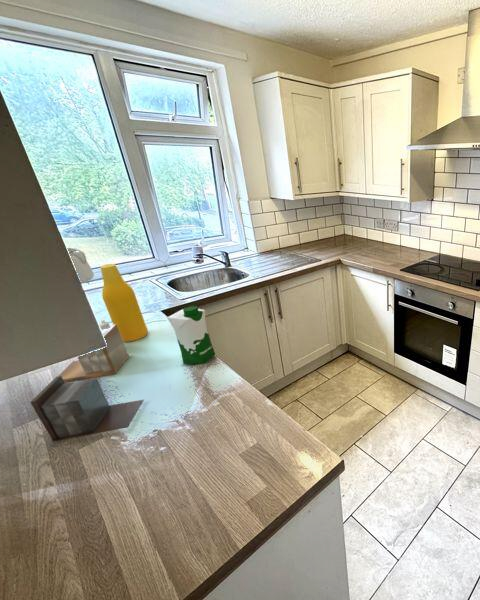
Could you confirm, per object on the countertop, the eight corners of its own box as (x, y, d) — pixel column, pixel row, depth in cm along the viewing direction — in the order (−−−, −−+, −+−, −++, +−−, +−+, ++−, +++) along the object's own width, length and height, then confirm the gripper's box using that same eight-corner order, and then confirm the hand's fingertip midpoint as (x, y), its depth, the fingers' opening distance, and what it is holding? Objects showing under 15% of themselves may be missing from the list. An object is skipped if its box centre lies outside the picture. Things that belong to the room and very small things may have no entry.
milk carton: (201, 368, 110) (185, 314, 101) (178, 364, 111) (161, 312, 103) (219, 353, 117) (206, 303, 109) (197, 350, 119) (183, 301, 111)
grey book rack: (52, 444, 81) (28, 403, 75) (77, 413, 90) (57, 375, 85) (129, 430, 85) (111, 390, 80) (145, 402, 95) (130, 364, 89)
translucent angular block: (54, 383, 102) (35, 347, 97) (74, 363, 111) (58, 330, 106) (115, 374, 106) (101, 339, 101) (129, 355, 116) (117, 323, 111)
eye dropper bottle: (104, 354, 116) (91, 325, 112) (110, 346, 121) (98, 317, 116) (119, 352, 118) (107, 322, 113) (124, 344, 123) (113, 315, 118)
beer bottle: (146, 339, 126) (120, 267, 114) (116, 344, 123) (86, 271, 111) (150, 328, 134) (127, 260, 122) (122, 333, 130) (95, 263, 118)
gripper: (88, 244, 88) (106, 291, 93) (-11, 248, 82) (14, 299, 88) (74, 250, 82) (94, 300, 88) (-33, 255, 77) (-4, 308, 82)
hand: (53, 299), depth 88 cm, fingers closed on white book, 2 cm apart
